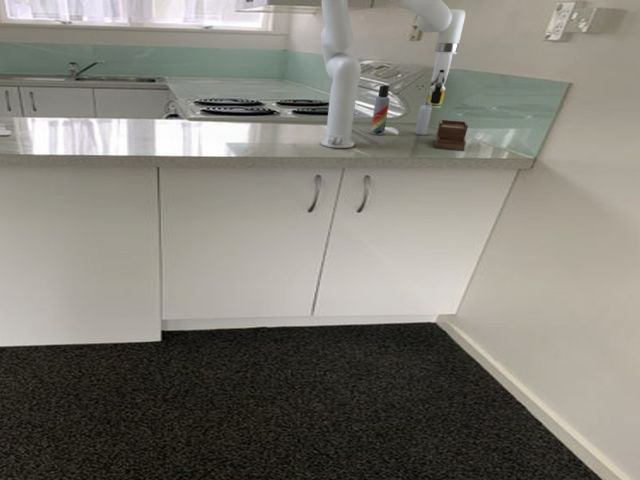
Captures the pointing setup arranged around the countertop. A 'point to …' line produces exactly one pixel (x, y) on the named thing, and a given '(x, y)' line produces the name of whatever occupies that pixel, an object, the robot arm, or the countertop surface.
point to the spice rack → (451, 135)
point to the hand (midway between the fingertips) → (434, 101)
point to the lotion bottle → (380, 111)
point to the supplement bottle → (429, 104)
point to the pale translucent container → (423, 120)
